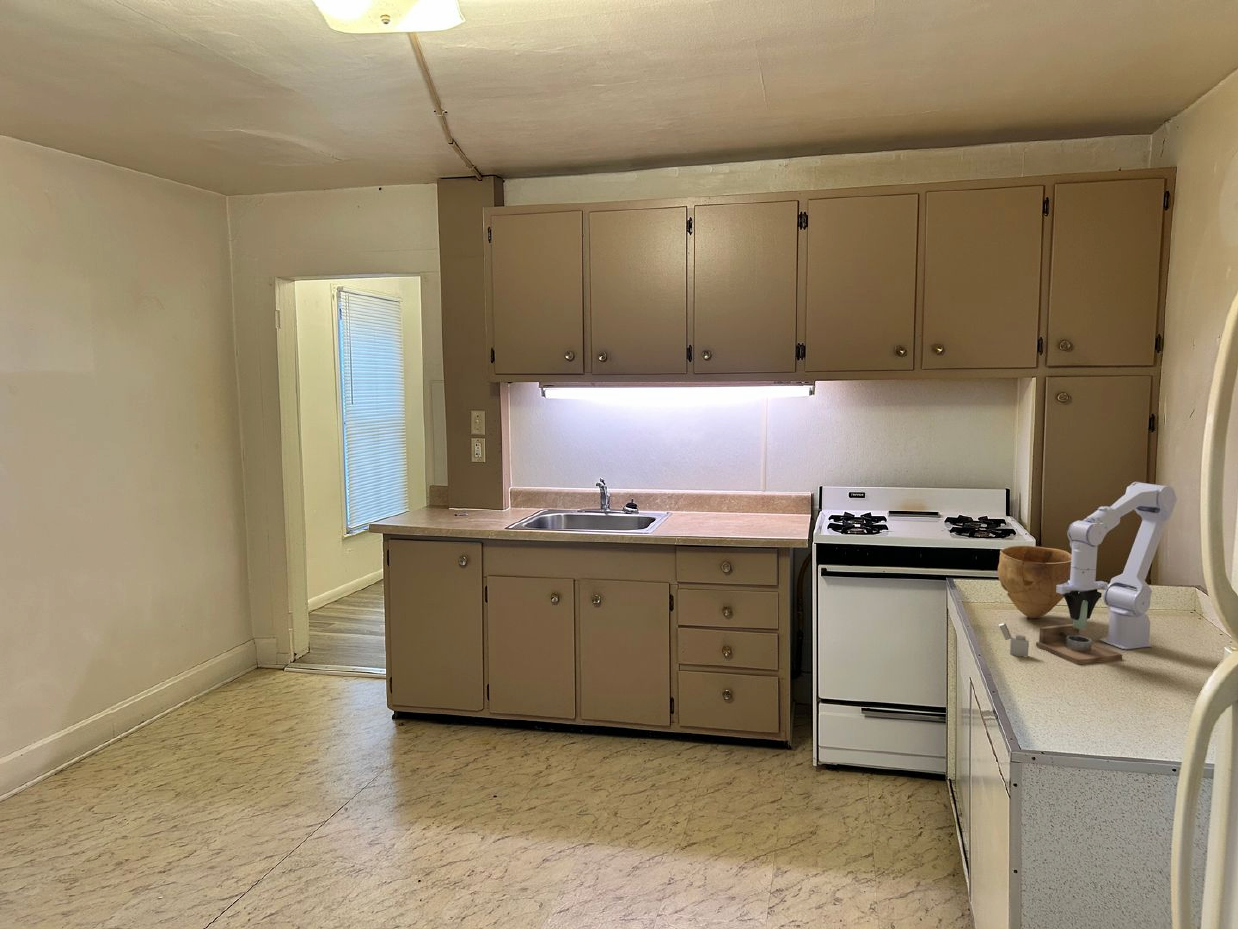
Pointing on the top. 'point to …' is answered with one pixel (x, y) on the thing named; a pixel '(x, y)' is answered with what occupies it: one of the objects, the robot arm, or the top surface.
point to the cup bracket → (1073, 645)
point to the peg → (1081, 617)
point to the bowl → (1033, 577)
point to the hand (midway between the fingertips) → (1080, 618)
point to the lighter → (1015, 642)
